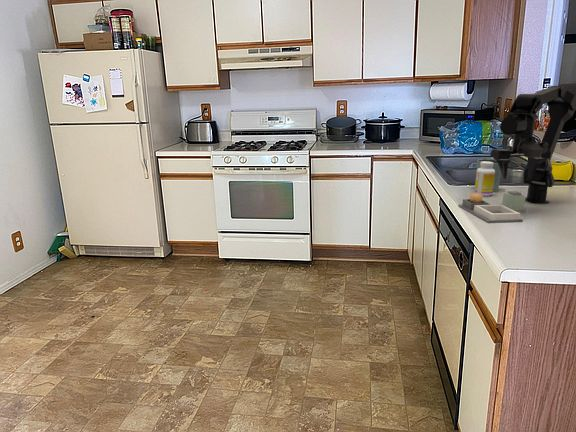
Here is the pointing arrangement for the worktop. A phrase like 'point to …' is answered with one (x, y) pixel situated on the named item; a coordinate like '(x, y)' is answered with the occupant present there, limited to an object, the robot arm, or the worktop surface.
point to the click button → (475, 198)
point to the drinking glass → (497, 172)
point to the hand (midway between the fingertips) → (517, 178)
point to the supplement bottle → (485, 179)
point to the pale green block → (513, 200)
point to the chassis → (491, 212)
